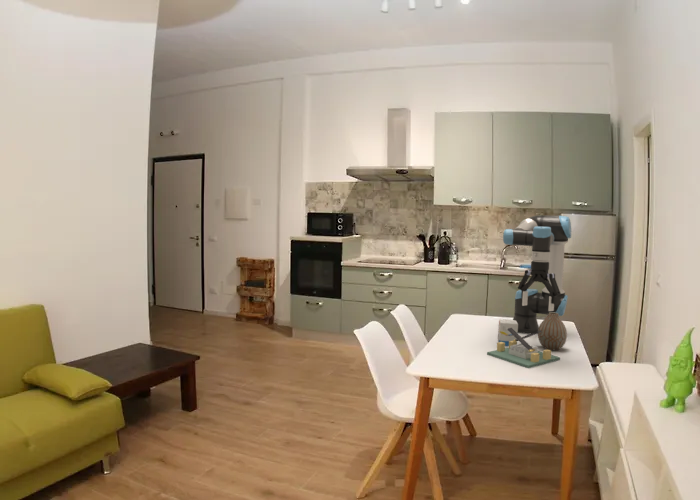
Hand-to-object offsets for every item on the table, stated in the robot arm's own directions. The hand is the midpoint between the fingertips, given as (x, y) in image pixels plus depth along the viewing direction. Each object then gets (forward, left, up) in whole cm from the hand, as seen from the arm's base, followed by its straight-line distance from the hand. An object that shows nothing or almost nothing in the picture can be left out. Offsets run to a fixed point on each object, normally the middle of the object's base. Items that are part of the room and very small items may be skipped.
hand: (537, 308), depth 216 cm
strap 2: (-1, -5, -15) cm, 15 cm away
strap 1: (+7, -3, -15) cm, 17 cm away
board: (+3, -4, -23) cm, 24 cm away
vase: (-22, -6, -23) cm, 32 cm away
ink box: (-9, -22, -23) cm, 33 cm away
